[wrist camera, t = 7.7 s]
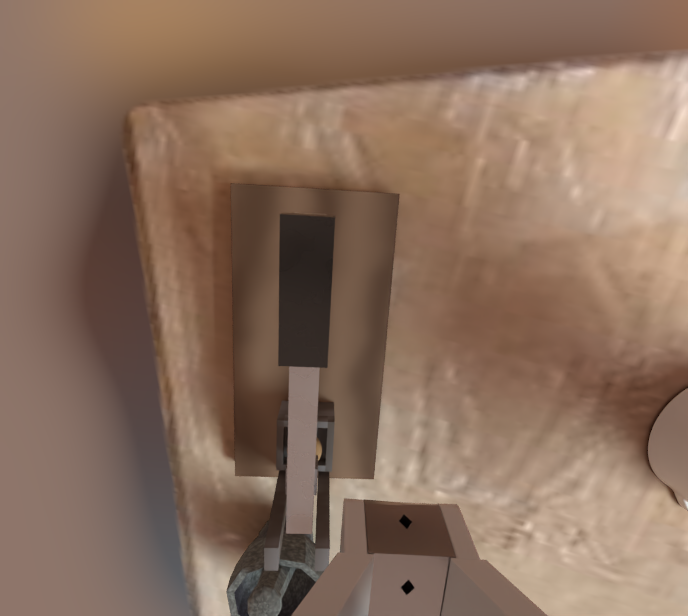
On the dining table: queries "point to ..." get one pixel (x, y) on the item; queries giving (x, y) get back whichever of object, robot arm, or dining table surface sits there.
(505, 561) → the dining table surface
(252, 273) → the press base
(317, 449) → the nut
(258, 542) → the mortar and pestle
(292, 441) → the lever
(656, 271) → the dining table surface
